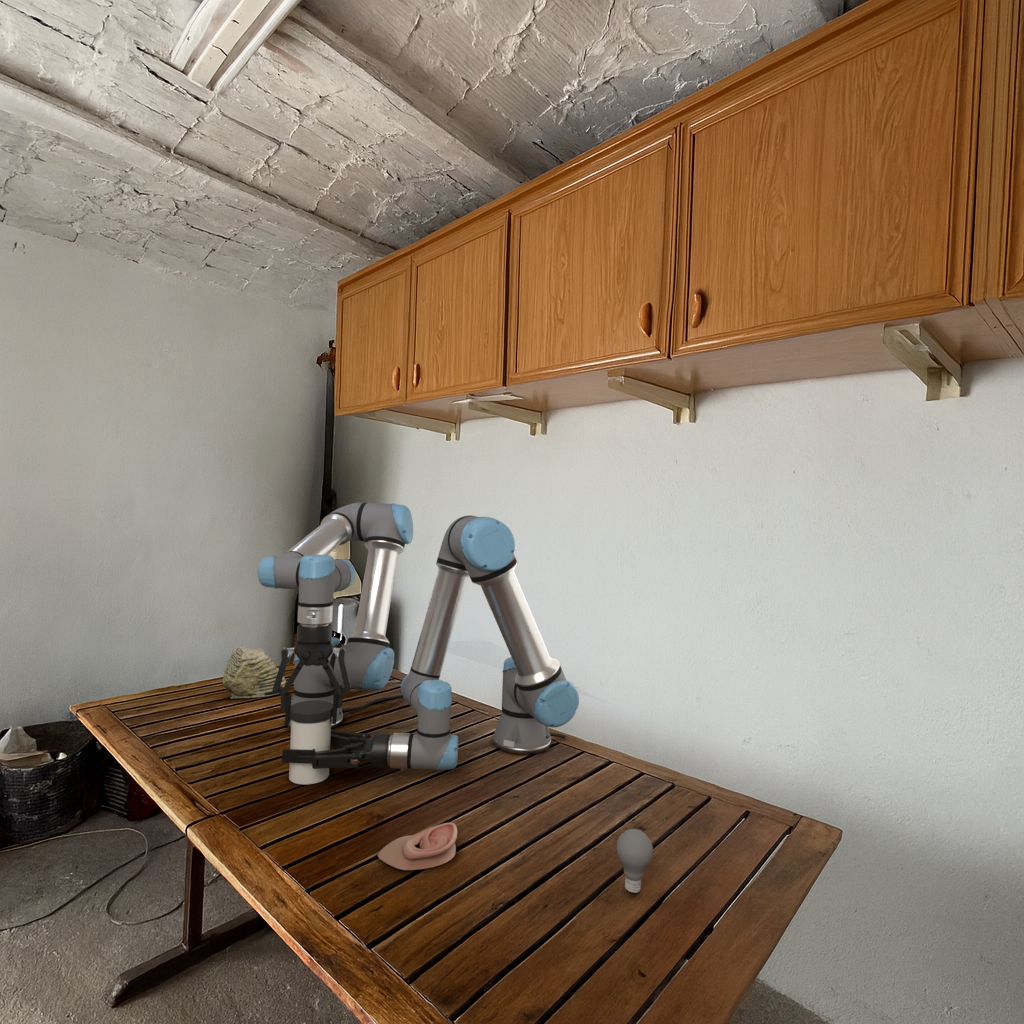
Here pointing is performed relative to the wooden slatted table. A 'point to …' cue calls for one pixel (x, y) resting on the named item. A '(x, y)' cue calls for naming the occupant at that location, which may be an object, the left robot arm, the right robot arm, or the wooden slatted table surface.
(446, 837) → the anatomical model
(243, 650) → the fossil
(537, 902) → the wooden slatted table surface
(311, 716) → the lid
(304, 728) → the jar
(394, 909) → the wooden slatted table surface
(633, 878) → the light bulb
